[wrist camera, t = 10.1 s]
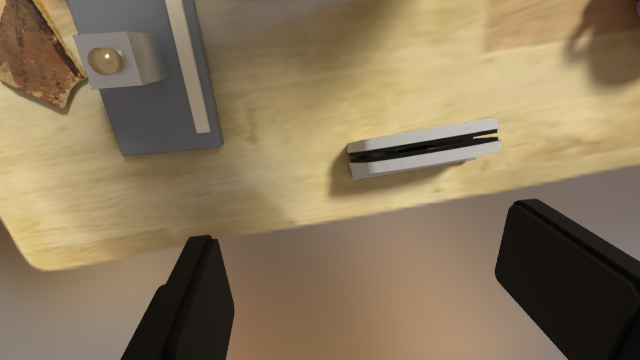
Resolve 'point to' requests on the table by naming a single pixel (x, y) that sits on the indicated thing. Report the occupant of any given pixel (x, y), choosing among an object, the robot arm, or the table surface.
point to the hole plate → (165, 95)
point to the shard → (36, 53)
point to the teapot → (638, 8)
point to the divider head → (121, 59)
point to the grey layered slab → (438, 152)
